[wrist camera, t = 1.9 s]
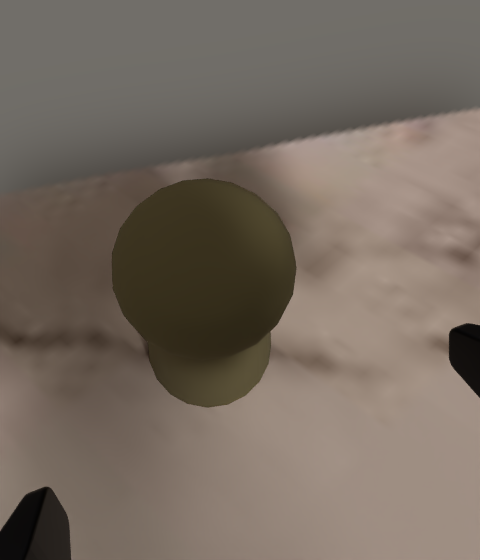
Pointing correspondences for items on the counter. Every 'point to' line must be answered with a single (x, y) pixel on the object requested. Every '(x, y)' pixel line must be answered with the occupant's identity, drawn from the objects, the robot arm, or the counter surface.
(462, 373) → the robot arm
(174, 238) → the olive green peg
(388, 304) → the counter surface
